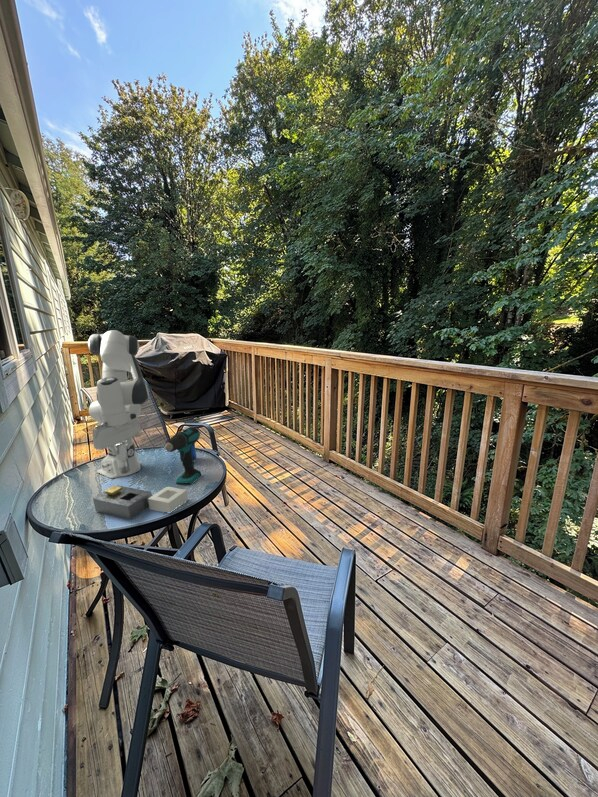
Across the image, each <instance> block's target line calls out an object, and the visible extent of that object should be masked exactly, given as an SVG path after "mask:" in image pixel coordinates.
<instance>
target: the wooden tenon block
mask: <svg viewBox="0 0 598 797" xmlns="http://www.w3.org/2000/svg"><path fill="white" fill-rule="evenodd" d="M119 486H120V485H119ZM119 486H117V485H112V486H110V487H109V488H107V489H105V490H103V493H106V494H108V495H110V496H114V495H116V494H118V493H120V492H119V491H121V490H122V489H123V488H122V487H119Z"/></svg>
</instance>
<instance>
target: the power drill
mask: <svg viewBox="0 0 598 797" xmlns="http://www.w3.org/2000/svg"><path fill="white" fill-rule="evenodd" d="M200 436H201V432H200V431H199V428H197V427H194V426H190V427H188V428H186V429H183V431H179V432H177V433H175V434H174V435H172V437H171V438H170V439H168V440H166V441H165V443H164V450H166V452H170V453H172V452H173V453H174V452H175V451H176V450H177V451H178V453H179V459H180V460H181V459H182V462H181V463H182V466H183V468H184V471H183V473H182V474H180V476H178V477H177V478H176V480H175V481H176V484H189V485H191V484H192V483H193V482H194V481H195V480H196V479H197V480H198V479H200V478H201V477H202V472H201V471H200V470H197V469H196V468H195V465H194V461H193V457H192V453H191V447H192V446H193V445H194V444H196V442H197V441H199V438H200ZM200 476H201V477H200ZM197 480H196V481H197ZM196 481H195V482H196ZM195 482H194V483H195ZM194 483H193V484H194ZM193 484H192V485H193Z"/></svg>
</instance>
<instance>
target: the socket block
mask: <svg viewBox="0 0 598 797" xmlns="http://www.w3.org/2000/svg"><path fill="white" fill-rule="evenodd" d="M116 486H119V487H122V488H123V489H122V490H121V491H119V492H120V493H118V494H116V495H114V496H110V495H108V494H106V493H104V492H102V493H100V494H98V495H97V496H95V497H92V500H93V504H94V505H93V506H94V511H95V512H96V511H98V512H99V513H101V514H106V515H110V516H113V517H118V518H122V519H126V520H129V521H131V520H132V519H134V518H135V517H137V516H138V515H140V514H141V513H143V512H144V511H146V510H147V509H150V508H149V502H148V498H150V497H151V496H153V493H152V491H149V490H145V489H144V490H142V489H139V488H134V487H129V486H124V485H119V484H117V485H116ZM98 512H97V513H98Z"/></svg>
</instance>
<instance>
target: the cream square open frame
mask: <svg viewBox="0 0 598 797" xmlns="http://www.w3.org/2000/svg"><path fill="white" fill-rule="evenodd" d="M188 495H189V493H188V490H187V489H184V488H183V489H182V488H179V487H174V486H173V487H171V486H166V487H164V488H162V489H161V490H159V491H158V492H156V493H154V494H152V496H151V497H150V498H148V502H149V508H148V509H149V510H151V511H155V512H159V511H164V512H171V511H172V510H174V509H175V508H176V507H178V506H179V505H181V504H182V503H184V502H185V501H187V500H188V501H189V496H188ZM188 501H187V502H188ZM184 504H185V503H184ZM164 512H163V513H164Z"/></svg>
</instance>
